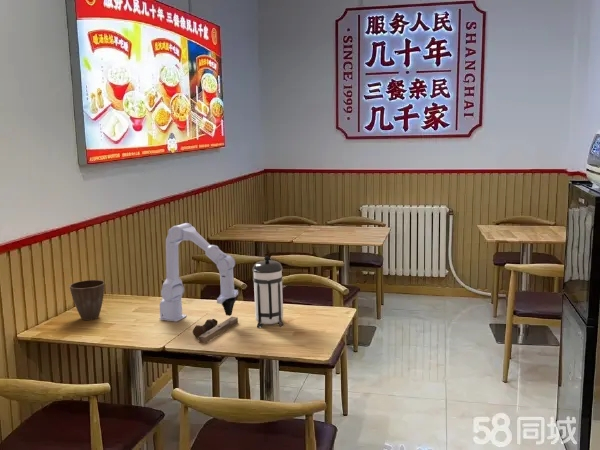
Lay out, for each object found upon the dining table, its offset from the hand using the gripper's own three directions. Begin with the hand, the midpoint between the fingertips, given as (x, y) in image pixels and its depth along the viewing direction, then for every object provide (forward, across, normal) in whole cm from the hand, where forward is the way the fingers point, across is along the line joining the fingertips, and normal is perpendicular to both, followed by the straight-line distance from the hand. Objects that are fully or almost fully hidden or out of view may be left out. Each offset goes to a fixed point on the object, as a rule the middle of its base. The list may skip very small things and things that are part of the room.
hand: (228, 315), depth 252 cm
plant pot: (+5, -12, +66) cm, 68 cm away
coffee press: (+5, +7, -16) cm, 19 cm away
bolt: (+5, -10, +4) cm, 12 cm away
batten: (+5, -9, 0) cm, 10 cm away
